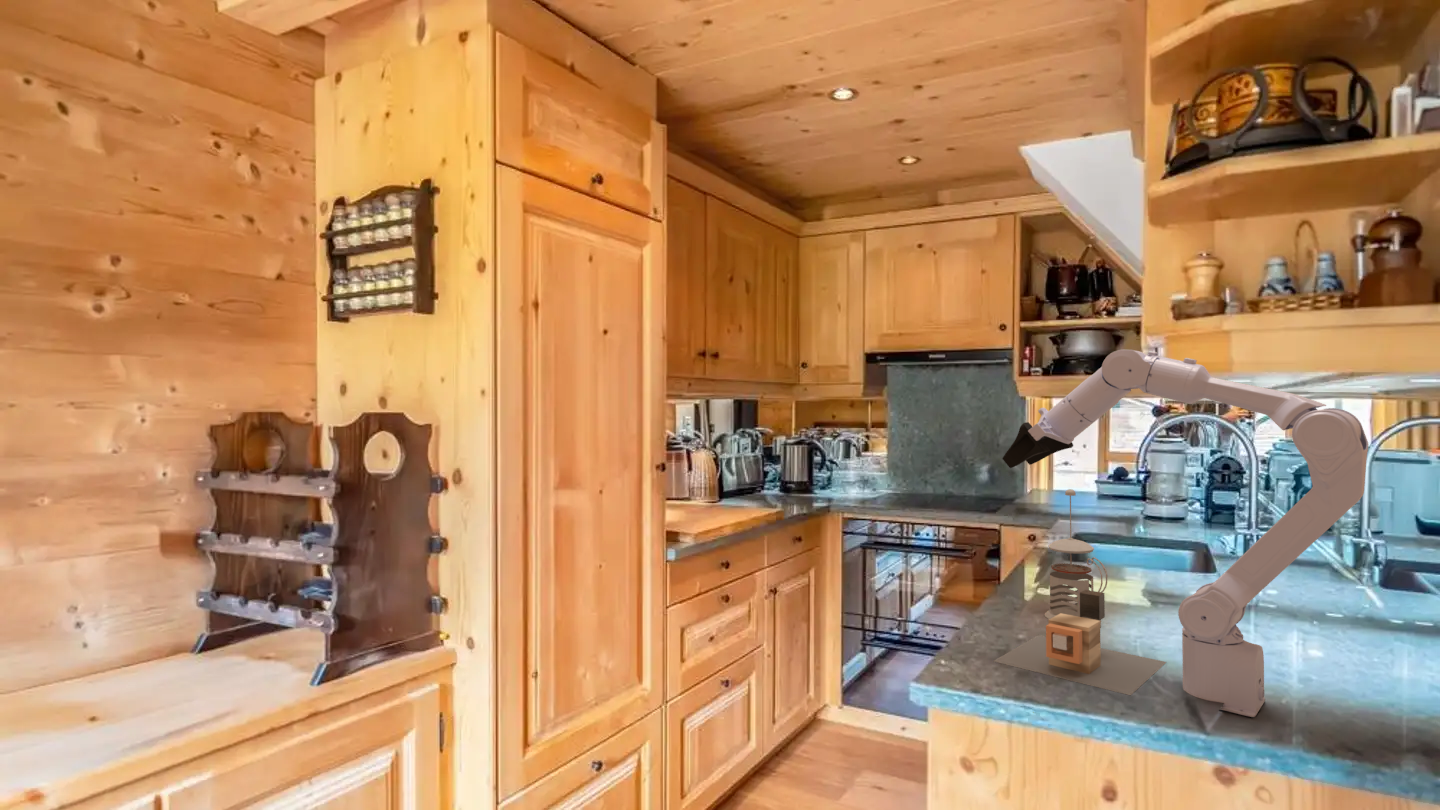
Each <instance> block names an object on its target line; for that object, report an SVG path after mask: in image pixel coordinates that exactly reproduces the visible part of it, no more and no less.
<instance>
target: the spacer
mask: <svg viewBox="0 0 1440 810" xmlns="http://www.w3.org/2000/svg"><path fill="white" fill-rule="evenodd" d="M1054 633H1059V634H1064V635H1069V636H1073V654H1070V653H1065V652H1061V651H1056V650H1055V648H1053V634H1054ZM1045 636H1046V657H1050V658H1054V659H1059V660H1063V661H1067V662H1072V663H1076V664H1080V663H1081V662H1083V655H1082V630H1080V629H1075V628H1070V627H1065V626H1060V625H1055V624H1048V623H1047V624H1046V625H1045Z"/></svg>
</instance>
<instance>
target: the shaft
mask: <svg viewBox="0 0 1440 810" xmlns="http://www.w3.org/2000/svg"><path fill="white" fill-rule="evenodd" d="M1089 590H1090V589H1089ZM1089 590H1084V591H1082V592H1080V617H1083V618H1089V619H1094V620H1099V621H1100V629H1101V628H1102V620H1103V619H1104V618H1105V615H1106V614H1105V613H1106V612H1105V611H1106V610H1105V609H1106V608H1105V601H1106V600H1105V592H1102V593H1101V591H1100V592H1098V591H1094V590H1093V591H1091V590H1090V591H1089ZM1072 646H1073V636H1069V635H1064V634H1059V633H1054V634H1053V648H1058V649H1063V650H1068V649H1069V648H1071V647H1072Z"/></svg>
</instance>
